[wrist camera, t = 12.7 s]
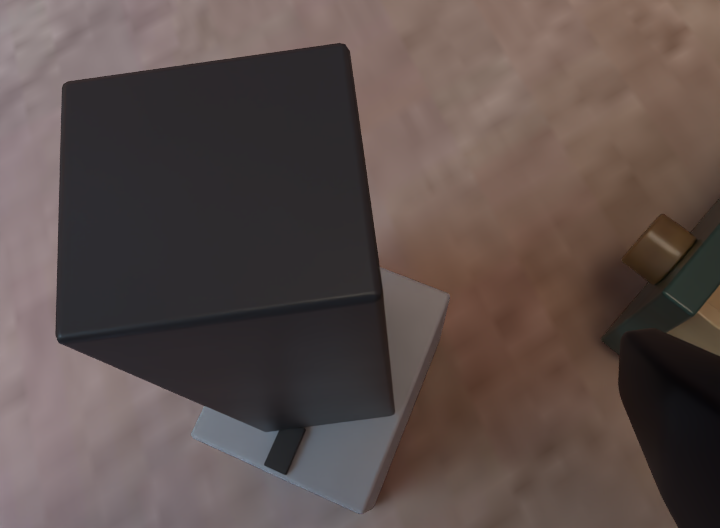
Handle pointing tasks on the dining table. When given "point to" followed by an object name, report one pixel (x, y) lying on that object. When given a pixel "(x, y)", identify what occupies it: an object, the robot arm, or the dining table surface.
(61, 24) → the dining table surface
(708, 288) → the drawer
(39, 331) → the dining table surface
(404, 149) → the dining table surface
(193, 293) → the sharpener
